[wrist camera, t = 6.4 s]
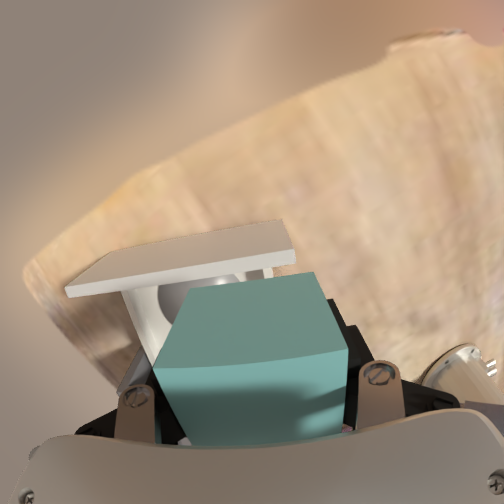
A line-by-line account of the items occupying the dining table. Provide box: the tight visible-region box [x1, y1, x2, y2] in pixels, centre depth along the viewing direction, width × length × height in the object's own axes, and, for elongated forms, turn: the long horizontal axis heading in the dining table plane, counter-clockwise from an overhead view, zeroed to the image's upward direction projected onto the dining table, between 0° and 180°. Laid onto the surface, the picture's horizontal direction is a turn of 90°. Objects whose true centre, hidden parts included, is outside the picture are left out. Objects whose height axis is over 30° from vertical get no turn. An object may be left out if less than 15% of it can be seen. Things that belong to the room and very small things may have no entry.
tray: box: [64, 219, 296, 367], centre depth 26 cm, size 18×18×9 cm
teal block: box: [153, 272, 348, 446], centre depth 10 cm, size 5×5×5 cm
